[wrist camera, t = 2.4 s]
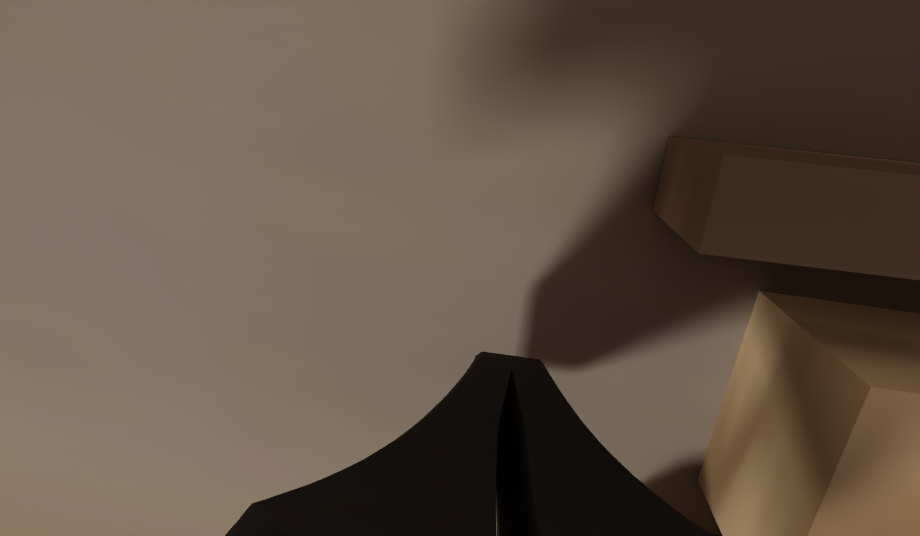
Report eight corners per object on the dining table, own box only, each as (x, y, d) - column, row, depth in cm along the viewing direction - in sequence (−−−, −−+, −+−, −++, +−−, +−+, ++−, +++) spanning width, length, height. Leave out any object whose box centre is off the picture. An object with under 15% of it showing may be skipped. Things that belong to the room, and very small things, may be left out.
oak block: (907, 511, 13) (1069, 688, 9) (695, 476, 13) (766, 632, 9) (1001, 323, 11) (1248, 443, 7) (756, 288, 11) (870, 387, 8)
